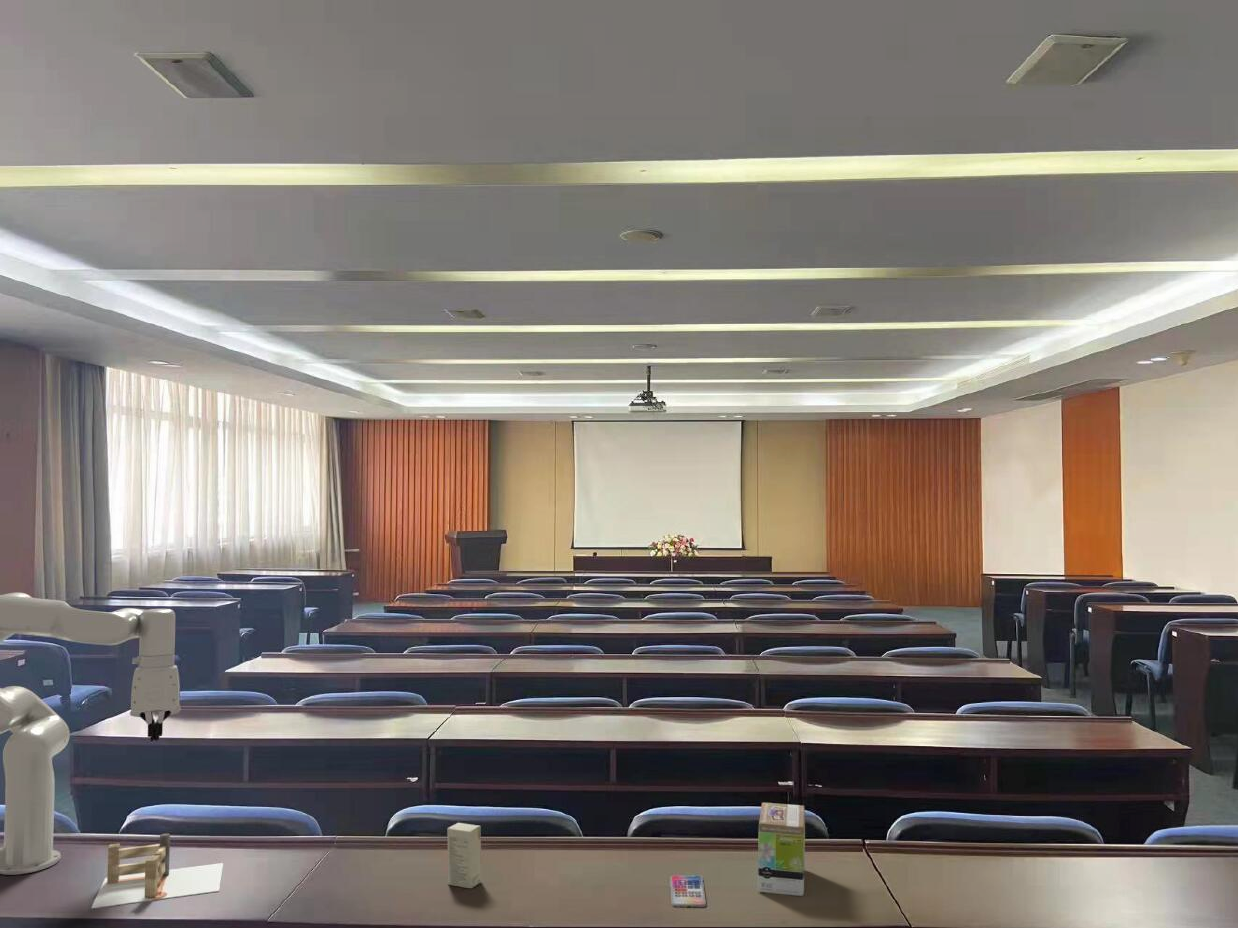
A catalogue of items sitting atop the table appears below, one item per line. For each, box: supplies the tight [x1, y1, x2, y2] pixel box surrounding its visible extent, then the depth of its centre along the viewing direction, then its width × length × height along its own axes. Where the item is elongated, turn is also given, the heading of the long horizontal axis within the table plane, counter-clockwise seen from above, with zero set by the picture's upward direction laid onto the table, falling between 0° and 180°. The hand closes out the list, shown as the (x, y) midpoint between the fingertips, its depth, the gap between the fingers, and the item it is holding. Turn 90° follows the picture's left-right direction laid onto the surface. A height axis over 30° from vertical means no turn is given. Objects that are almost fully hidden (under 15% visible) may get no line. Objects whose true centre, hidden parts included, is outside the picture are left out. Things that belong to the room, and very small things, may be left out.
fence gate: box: [144, 846, 166, 897], centre depth 196 cm, size 11×2×8 cm, turn 14°
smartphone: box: [669, 875, 707, 908], centre depth 194 cm, size 7×1×15 cm
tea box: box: [757, 802, 806, 897], centre depth 200 cm, size 15×10×15 cm
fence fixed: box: [106, 833, 171, 884], centre depth 201 cm, size 12×2×9 cm, turn 110°
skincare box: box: [446, 822, 482, 889], centre depth 199 cm, size 6×4×12 cm
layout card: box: [91, 862, 224, 910], centre depth 197 cm, size 24×16×1 cm
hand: (154, 739), depth 215 cm, fingers closed
